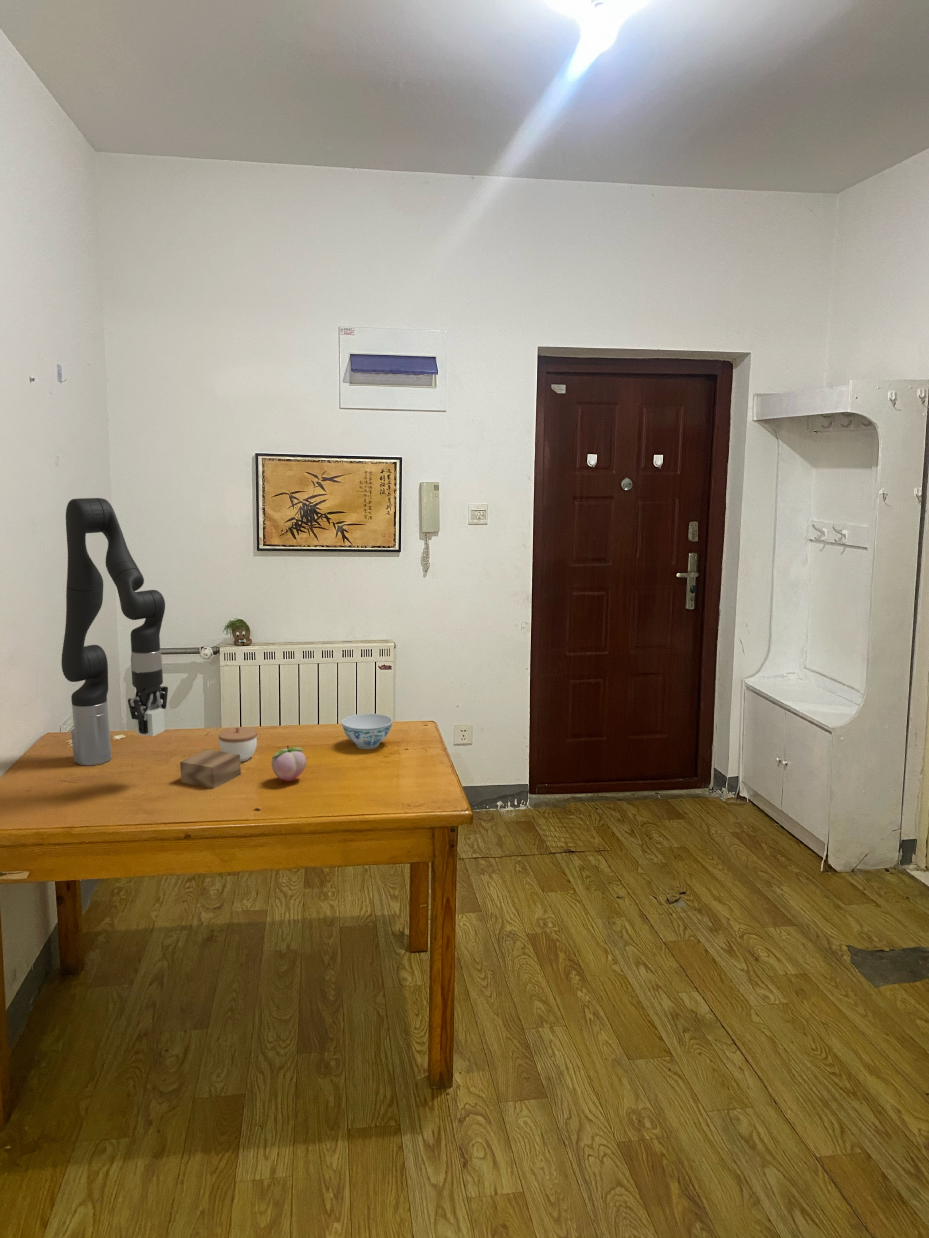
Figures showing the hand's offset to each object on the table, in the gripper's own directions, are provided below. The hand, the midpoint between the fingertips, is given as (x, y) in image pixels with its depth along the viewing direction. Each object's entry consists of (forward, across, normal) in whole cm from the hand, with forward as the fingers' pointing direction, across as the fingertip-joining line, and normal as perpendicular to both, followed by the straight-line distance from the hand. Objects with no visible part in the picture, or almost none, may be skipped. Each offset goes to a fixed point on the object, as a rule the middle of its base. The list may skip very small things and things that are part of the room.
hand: (150, 729), depth 234 cm
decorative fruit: (+15, -12, +34) cm, 38 cm away
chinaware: (+15, -45, +42) cm, 64 cm away
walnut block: (+15, -8, +12) cm, 21 cm away
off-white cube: (+1, 0, 0) cm, 1 cm away
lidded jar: (+15, -24, +12) cm, 31 cm away
